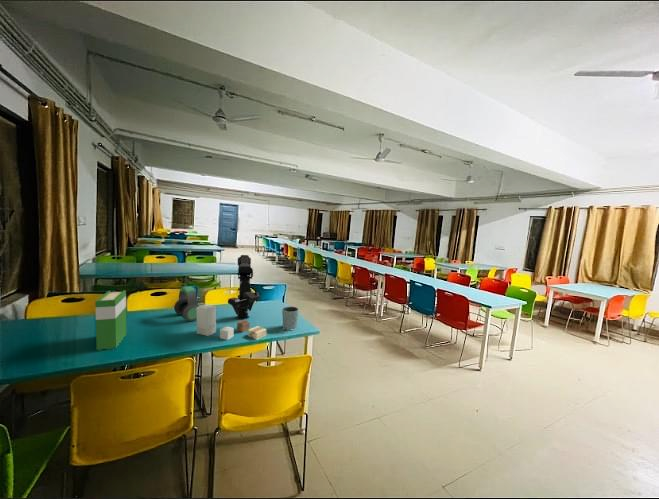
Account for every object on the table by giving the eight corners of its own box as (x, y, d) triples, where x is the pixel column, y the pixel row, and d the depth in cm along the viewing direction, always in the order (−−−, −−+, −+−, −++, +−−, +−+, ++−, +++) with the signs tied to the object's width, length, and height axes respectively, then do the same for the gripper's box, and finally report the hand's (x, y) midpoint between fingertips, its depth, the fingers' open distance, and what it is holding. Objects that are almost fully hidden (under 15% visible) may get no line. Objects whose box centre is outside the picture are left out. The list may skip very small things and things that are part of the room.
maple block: (248, 336, 152) (248, 329, 152) (257, 332, 158) (258, 325, 158) (256, 340, 148) (256, 333, 148) (266, 336, 154) (266, 329, 154)
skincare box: (216, 332, 154) (216, 306, 152) (207, 336, 148) (208, 309, 146) (204, 329, 157) (205, 303, 155) (195, 333, 151) (196, 306, 149)
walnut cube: (236, 330, 159) (237, 322, 158) (243, 327, 163) (243, 319, 162) (242, 332, 156) (242, 324, 156) (249, 330, 160) (249, 321, 160)
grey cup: (294, 331, 162) (295, 312, 161) (278, 329, 164) (279, 310, 163) (299, 325, 172) (300, 307, 171) (284, 323, 174) (285, 305, 173)
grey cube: (220, 338, 147) (220, 329, 147) (226, 334, 152) (226, 326, 151) (227, 340, 146) (227, 331, 145) (233, 336, 151) (233, 327, 150)
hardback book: (109, 335, 142) (108, 290, 140) (126, 333, 145) (125, 290, 143) (96, 350, 126) (95, 301, 124) (116, 348, 129) (115, 300, 127)
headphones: (202, 319, 170) (203, 289, 168) (184, 324, 162) (184, 291, 160) (190, 311, 183) (190, 283, 181) (172, 315, 175) (172, 285, 173)
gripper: (240, 292, 145) (240, 320, 146) (266, 286, 160) (265, 312, 162) (227, 288, 151) (226, 315, 152) (253, 283, 166) (252, 307, 168)
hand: (243, 312), depth 159 cm, fingers open, 9 cm apart
